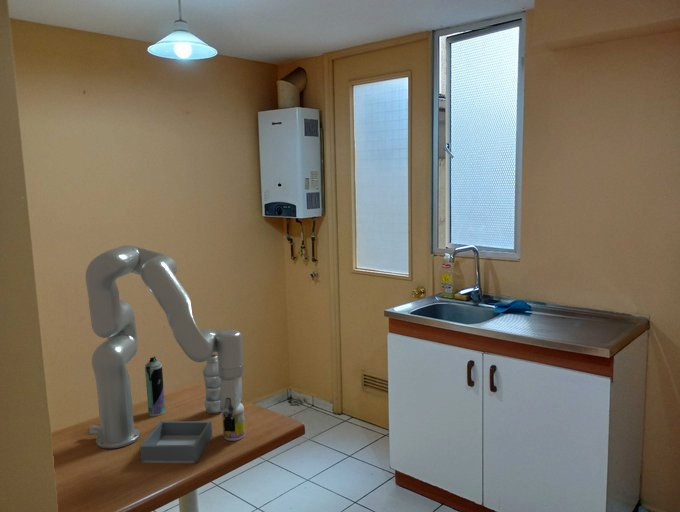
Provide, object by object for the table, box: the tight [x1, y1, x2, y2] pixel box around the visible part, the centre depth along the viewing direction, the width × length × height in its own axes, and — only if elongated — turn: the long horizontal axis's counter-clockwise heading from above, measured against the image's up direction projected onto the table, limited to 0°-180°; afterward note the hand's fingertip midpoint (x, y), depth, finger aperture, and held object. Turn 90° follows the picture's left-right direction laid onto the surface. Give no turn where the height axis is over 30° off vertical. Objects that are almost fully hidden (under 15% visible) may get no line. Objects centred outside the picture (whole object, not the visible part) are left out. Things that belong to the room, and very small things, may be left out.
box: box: [139, 420, 213, 464], centre depth 165 cm, size 16×16×5 cm
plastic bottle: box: [202, 353, 222, 414], centre depth 189 cm, size 6×7×20 cm
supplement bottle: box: [221, 399, 246, 442], centre depth 171 cm, size 7×7×13 cm
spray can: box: [144, 356, 166, 417], centre depth 189 cm, size 6×6×20 cm
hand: (233, 423), depth 172 cm, fingers open, 9 cm apart
